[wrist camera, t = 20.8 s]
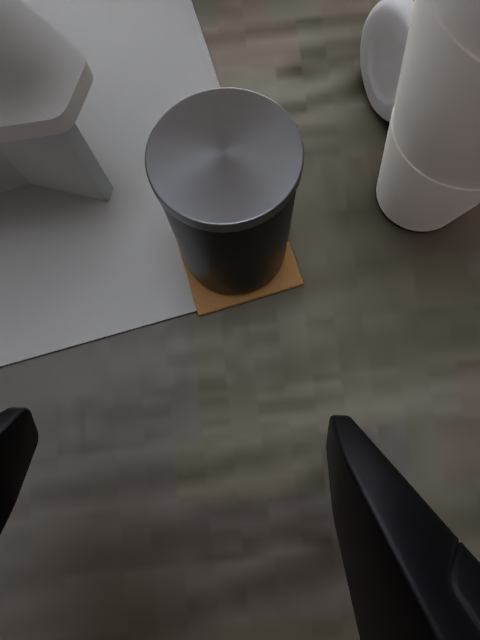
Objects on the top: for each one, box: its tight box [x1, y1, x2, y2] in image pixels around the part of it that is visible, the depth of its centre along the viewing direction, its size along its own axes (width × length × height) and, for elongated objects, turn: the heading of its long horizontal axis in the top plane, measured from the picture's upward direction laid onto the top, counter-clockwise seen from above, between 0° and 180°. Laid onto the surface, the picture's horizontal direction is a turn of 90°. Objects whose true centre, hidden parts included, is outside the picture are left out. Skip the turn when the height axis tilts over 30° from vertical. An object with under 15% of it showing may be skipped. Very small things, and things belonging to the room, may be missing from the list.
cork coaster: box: [177, 241, 304, 316], centre depth 23 cm, size 6×6×1 cm
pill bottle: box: [360, 0, 415, 122], centre depth 23 cm, size 6×6×11 cm
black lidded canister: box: [145, 88, 304, 295], centre depth 19 cm, size 6×6×8 cm
